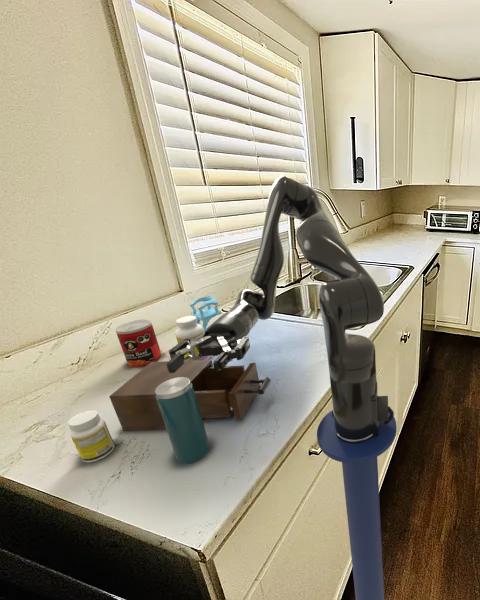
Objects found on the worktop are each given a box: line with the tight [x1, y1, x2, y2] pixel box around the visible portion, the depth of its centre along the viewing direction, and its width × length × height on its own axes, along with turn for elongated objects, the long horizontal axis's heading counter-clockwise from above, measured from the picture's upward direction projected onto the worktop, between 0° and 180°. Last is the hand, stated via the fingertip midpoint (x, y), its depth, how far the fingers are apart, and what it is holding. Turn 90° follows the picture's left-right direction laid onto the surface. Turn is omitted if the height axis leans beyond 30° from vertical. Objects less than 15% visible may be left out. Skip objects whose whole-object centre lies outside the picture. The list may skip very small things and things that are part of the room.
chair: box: [189, 295, 223, 332], centre depth 107 cm, size 8×8×12 cm
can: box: [155, 377, 211, 465], centre depth 59 cm, size 5×5×15 cm
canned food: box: [115, 319, 162, 368], centre depth 90 cm, size 8×8×11 cm
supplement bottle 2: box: [174, 315, 211, 360], centre depth 90 cm, size 7×7×13 cm
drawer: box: [192, 362, 271, 421], centre depth 72 cm, size 17×11×7 cm
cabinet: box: [108, 359, 214, 432], centre depth 71 cm, size 14×13×9 cm
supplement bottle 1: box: [67, 409, 116, 463], centre depth 60 cm, size 5×5×8 cm
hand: (192, 368), depth 62 cm, fingers open, 8 cm apart
